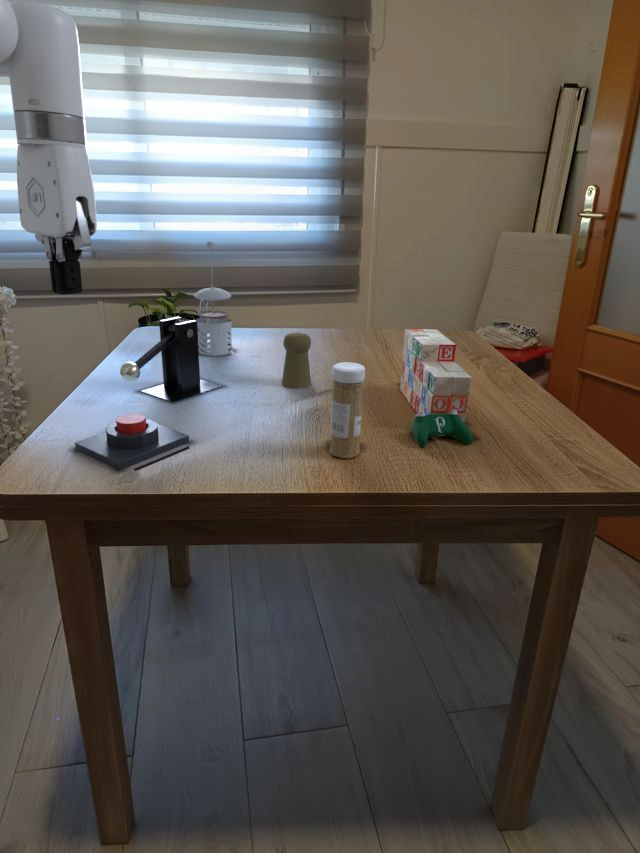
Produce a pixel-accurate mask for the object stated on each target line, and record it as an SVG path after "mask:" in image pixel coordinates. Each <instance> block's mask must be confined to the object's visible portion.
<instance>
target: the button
mask: <svg viewBox="0 0 640 853" xmlns="http://www.w3.org/2000/svg"><path fill="white" fill-rule="evenodd" d="M146 419H147V418H146V415H144V414H142V413H136V412H135V413H134V412H132V413H125V414H121V415H118V416H117V417H116V418H115V422H116V424H117V432H119V433H124V434H133V433H139V432H142V431H145V430H146V429H147V426H146Z"/></svg>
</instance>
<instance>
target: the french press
mask: <svg viewBox="0 0 640 853" xmlns="http://www.w3.org/2000/svg"><path fill="white" fill-rule="evenodd" d="M206 248H209V251H210V275H211V276H210V278H211V281H210V282H211V286H209V287H207V288H202V289H200V290H198V291H197V292H195V293H194V294H193V296H194V298H195V299H198V300H200V302H199V311H198V312H197V313H196V315H197V316H198V317H199V318H196V320H195V321H197V327H198V348H199V355H202V356H212V357H213V356H214V357H215V356H225V355H229V354H230V355H233V356H234V355H235V356H236V355H237V354H236V353H235V351H233V342H232V341H233V340H232V339H233V338H232V319H231V318H228V317H229V316H230V312H228V311H227V310H218V309H215V307H214V301H225V300H229V299H231V298H232V295H231V293H229V292H228V291H227V290H224V289H223V288H220V287H219V288H218V287H214V283H213V282H214V281H213V278H214V277H213V257H212V256H213V255H212V254H213V251H212V248H216V244H215V242H214V241H207V242H206ZM205 301H206V303H205ZM202 304H203V305H204V306H205V309H206V310H201V309H202V308H201V306H202ZM211 304H212V310H211V309H208V306H209V305H211ZM208 335H209V336H208ZM208 340H209V341H208Z"/></svg>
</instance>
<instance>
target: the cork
mask: <svg viewBox="0 0 640 853" xmlns="http://www.w3.org/2000/svg"><path fill="white" fill-rule="evenodd" d="M282 345H283V348H284V349H285V357H284V363H283V371H282V377H281V386H283V387H284V388H287V389H293V390H296V389H297V390H299V389H300V390H301V389H307V388H310V387H311V386H312V378H311V369H310V359H309V350H310V349H311V345H312V339H311V337H310V335H309V334H308V333H305V332H301V331H300V332H299V331H296V332H295V331H293V332H289V333H287V334H285V336H284V338H283V344H282Z"/></svg>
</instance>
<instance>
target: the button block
mask: <svg viewBox="0 0 640 853" xmlns="http://www.w3.org/2000/svg"><path fill="white" fill-rule="evenodd" d="M146 426H147V429H146V430H145V431H142V432H139V433H133V434H124V433H119V432H117V424H116V421H114V422H111V423H110V424H109V425H107V426H106V427H105V432H102V433H99V434H96V435H93V436H90V437H87V438H83V439H82V440H79V441H76V442H74V448H75V451H77V452H79V453H81V454H83V455H85V456H87V457H89V458H92V459H93V460H96V461H98V462H100V463H102V464H105V465H106V466H109V467H111V468H113V469H115V470H117V471H118V472H119V471H123V470H125V469H127V468H130V467H132V466H135V465H138V464H140V463H142V462H145V461H147V460H149V459H152V458H154V457H157V456H159V455H162V454H164V453H167V452H170V451H172V450H174V449H177V448H179V447H181V446H184V445H186V444H189V443H190V436H189V435H188V434H186V433H183V432H181V431H178V430H176V429H173V428H170V427H168V426H165V425H163V424H160V423H158V422H156V421H154V420H151V419H149V418H146ZM187 450H190V445H187V446H186V447H182V448H181V449H178V450H176V451H174V452H171V453H168V454H166V455H164V456H161V457H159V458H157V459H154V460H151V461H149V462H147V463H144V464H142V465H139V466H137V467H134V468H133V470H134V472H137V471H140V470H142V469H145V468H147V467H149V466H151V465H154V464H156V463H159V462H161V461H163V460H166V459H168V458H171V457H173V456H175V455H178V454H180V453H183V452H185V451H187Z"/></svg>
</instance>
